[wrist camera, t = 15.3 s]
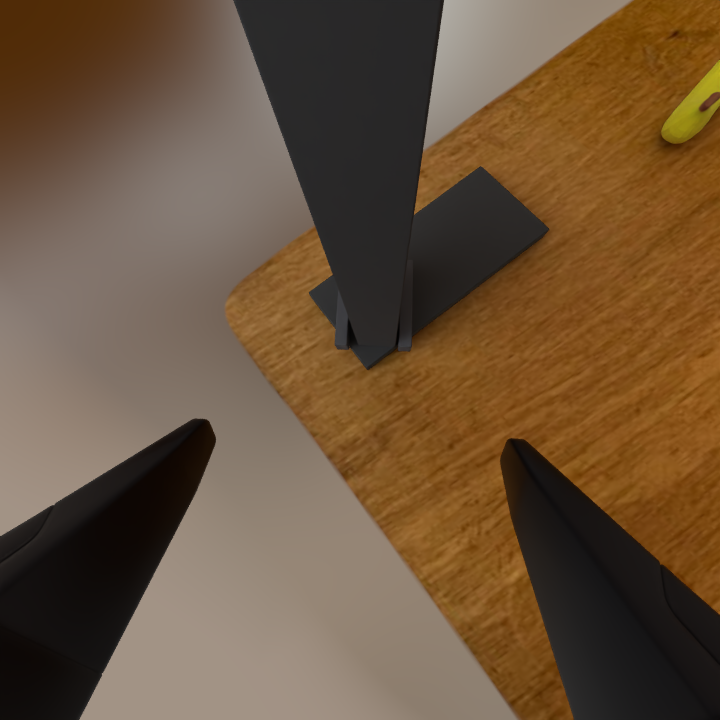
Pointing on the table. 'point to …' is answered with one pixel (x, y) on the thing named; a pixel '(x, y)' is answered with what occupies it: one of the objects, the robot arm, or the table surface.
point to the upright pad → (353, 132)
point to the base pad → (445, 258)
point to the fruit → (694, 109)
